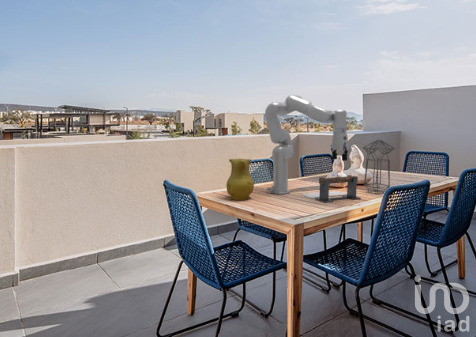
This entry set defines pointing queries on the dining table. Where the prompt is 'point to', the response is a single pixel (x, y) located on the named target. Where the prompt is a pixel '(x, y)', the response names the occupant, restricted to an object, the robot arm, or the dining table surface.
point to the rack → (350, 195)
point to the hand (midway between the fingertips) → (339, 159)
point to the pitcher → (240, 180)
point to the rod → (338, 179)
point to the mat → (317, 195)
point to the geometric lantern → (377, 164)
